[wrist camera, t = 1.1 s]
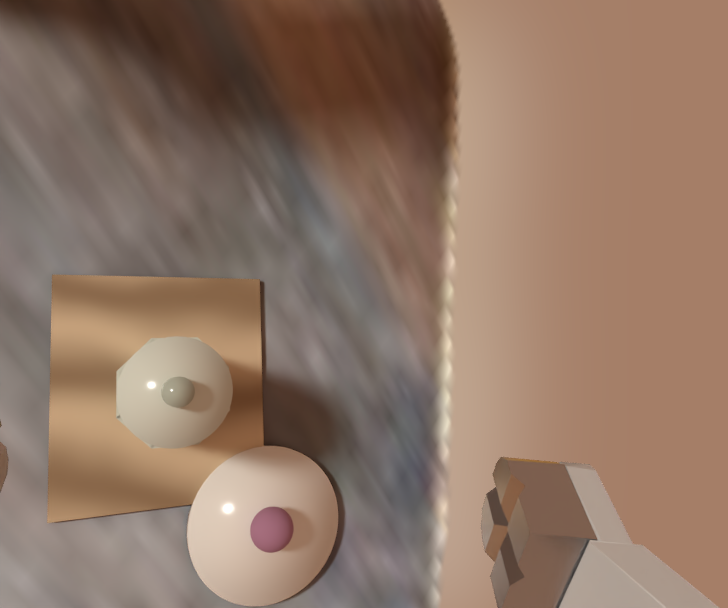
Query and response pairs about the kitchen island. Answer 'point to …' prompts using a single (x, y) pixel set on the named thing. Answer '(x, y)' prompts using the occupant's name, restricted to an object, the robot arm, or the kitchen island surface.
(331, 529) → the saucer
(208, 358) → the lidded octagonal canister
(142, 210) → the kitchen island surface
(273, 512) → the ball
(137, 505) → the mat
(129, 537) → the kitchen island surface
